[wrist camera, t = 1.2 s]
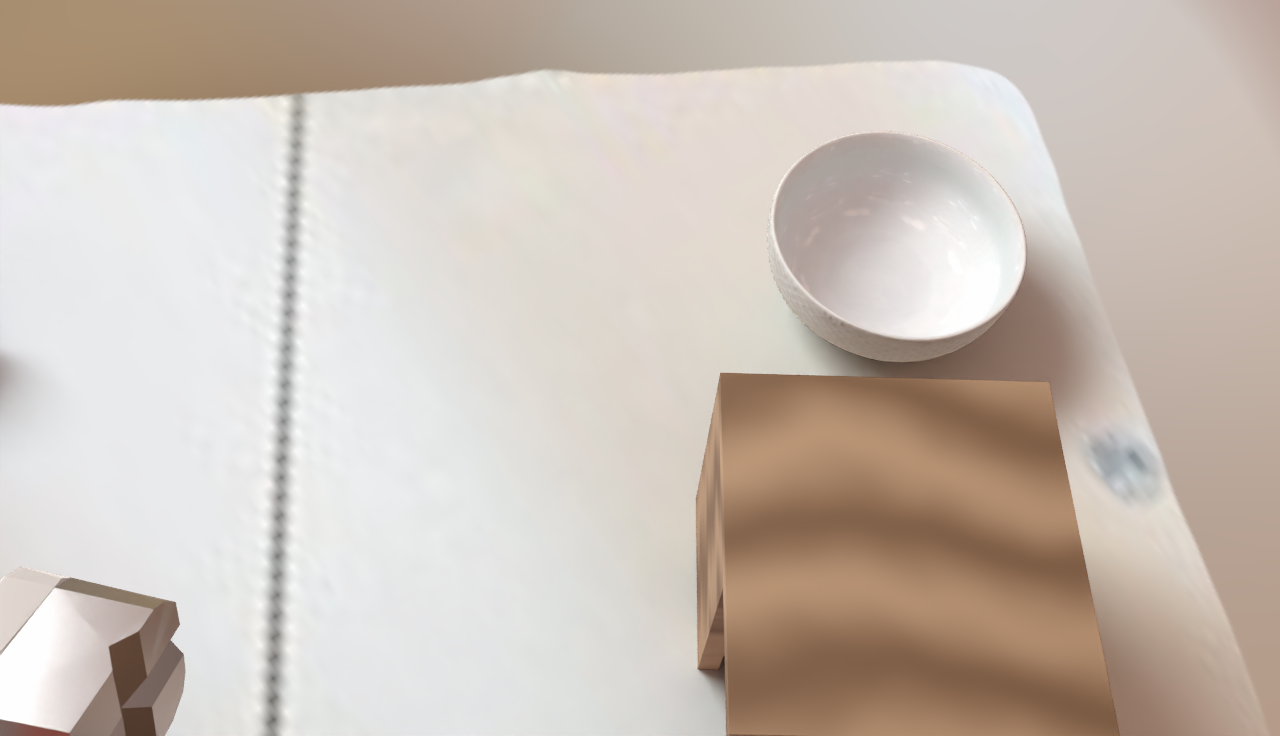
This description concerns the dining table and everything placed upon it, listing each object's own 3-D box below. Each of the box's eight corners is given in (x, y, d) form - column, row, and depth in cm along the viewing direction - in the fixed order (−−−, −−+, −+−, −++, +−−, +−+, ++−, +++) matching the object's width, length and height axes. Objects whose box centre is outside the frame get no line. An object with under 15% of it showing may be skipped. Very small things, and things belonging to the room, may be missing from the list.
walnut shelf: (996, 796, 58) (1121, 742, 44) (699, 790, 58) (729, 734, 44) (955, 505, 67) (1049, 382, 53) (696, 498, 66) (720, 373, 52)
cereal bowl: (708, 264, 75) (718, 202, 69) (878, 160, 81) (900, 93, 74) (871, 437, 69) (897, 386, 63) (1044, 312, 74) (1083, 252, 68)
